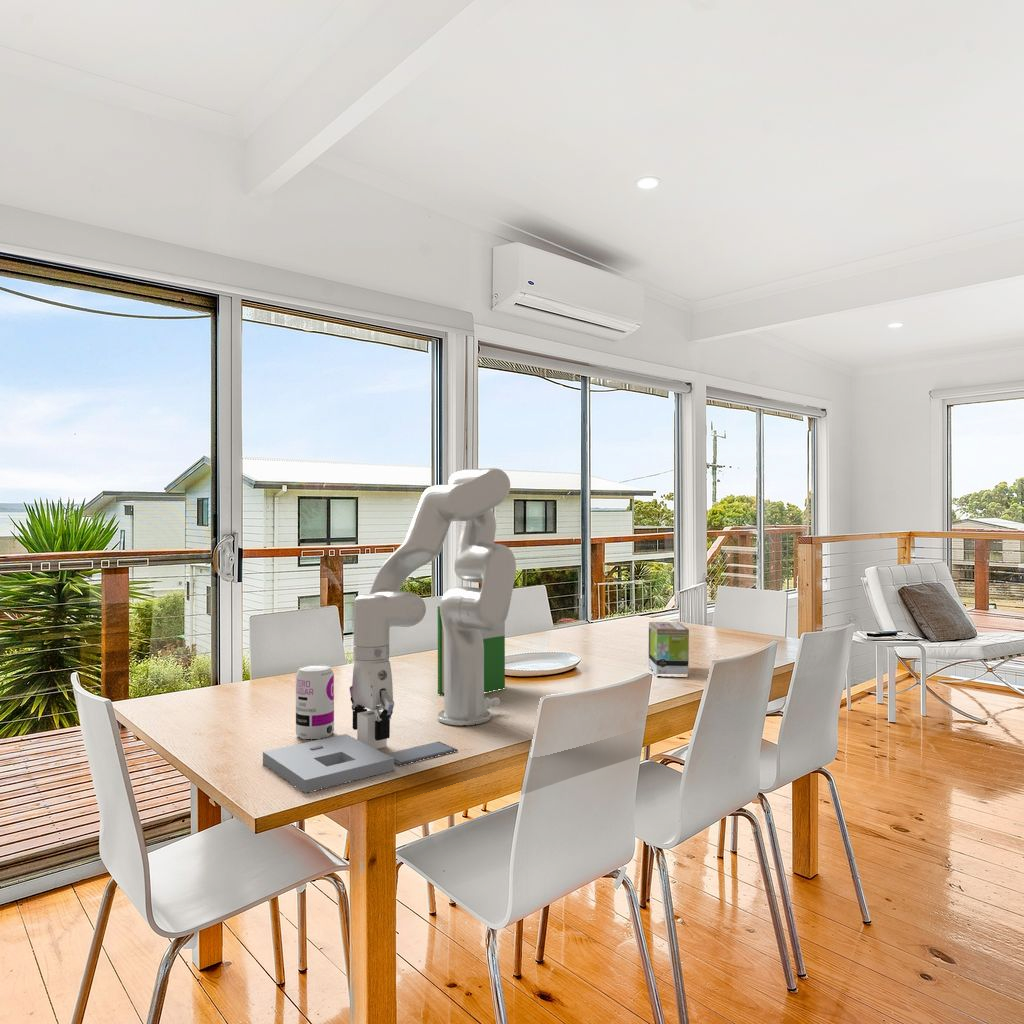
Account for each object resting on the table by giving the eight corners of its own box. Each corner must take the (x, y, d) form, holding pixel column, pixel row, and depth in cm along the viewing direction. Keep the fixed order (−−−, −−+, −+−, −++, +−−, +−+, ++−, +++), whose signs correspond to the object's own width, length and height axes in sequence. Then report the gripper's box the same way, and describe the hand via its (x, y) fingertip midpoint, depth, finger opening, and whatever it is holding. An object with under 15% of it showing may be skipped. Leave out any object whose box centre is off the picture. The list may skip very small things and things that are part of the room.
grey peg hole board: (346, 745, 158) (346, 733, 158) (394, 770, 142) (394, 757, 142) (262, 763, 146) (262, 750, 146) (305, 793, 131) (305, 779, 131)
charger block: (376, 741, 160) (376, 708, 160) (386, 746, 157) (386, 712, 157) (357, 745, 157) (357, 712, 157) (367, 751, 154) (367, 716, 154)
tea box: (689, 678, 220) (689, 628, 220) (655, 678, 220) (655, 628, 220) (679, 667, 235) (679, 620, 235) (647, 667, 235) (647, 620, 235)
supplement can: (337, 729, 169) (337, 663, 169) (329, 740, 161) (329, 671, 161) (301, 729, 169) (301, 664, 169) (291, 741, 160) (291, 672, 160)
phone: (438, 746, 159) (438, 740, 159) (457, 754, 153) (457, 748, 153) (381, 760, 150) (381, 754, 150) (399, 769, 145) (399, 763, 145)
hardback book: (454, 700, 195) (454, 609, 195) (437, 694, 200) (437, 606, 200) (504, 689, 207) (504, 603, 206) (488, 684, 212) (487, 601, 212)
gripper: (408, 657, 153) (407, 740, 152) (367, 645, 166) (366, 721, 166) (375, 661, 148) (375, 747, 148) (336, 649, 161) (336, 727, 161)
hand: (370, 733), depth 157 cm, fingers open, 9 cm apart
